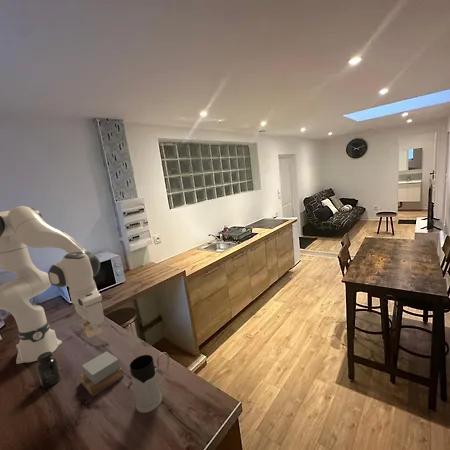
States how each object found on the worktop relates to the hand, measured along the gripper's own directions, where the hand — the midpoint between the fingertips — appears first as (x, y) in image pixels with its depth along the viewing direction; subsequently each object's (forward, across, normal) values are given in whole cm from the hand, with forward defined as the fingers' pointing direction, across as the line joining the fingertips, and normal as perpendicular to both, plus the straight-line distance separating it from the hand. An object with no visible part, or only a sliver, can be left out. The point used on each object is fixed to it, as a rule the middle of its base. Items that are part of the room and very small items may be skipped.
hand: (92, 328), depth 99 cm
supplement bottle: (+22, -18, -14) cm, 32 cm away
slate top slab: (+19, 0, 0) cm, 19 cm away
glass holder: (+22, +26, +8) cm, 35 cm away
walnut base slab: (+23, 0, 0) cm, 23 cm away
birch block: (+2, 0, 0) cm, 2 cm away
